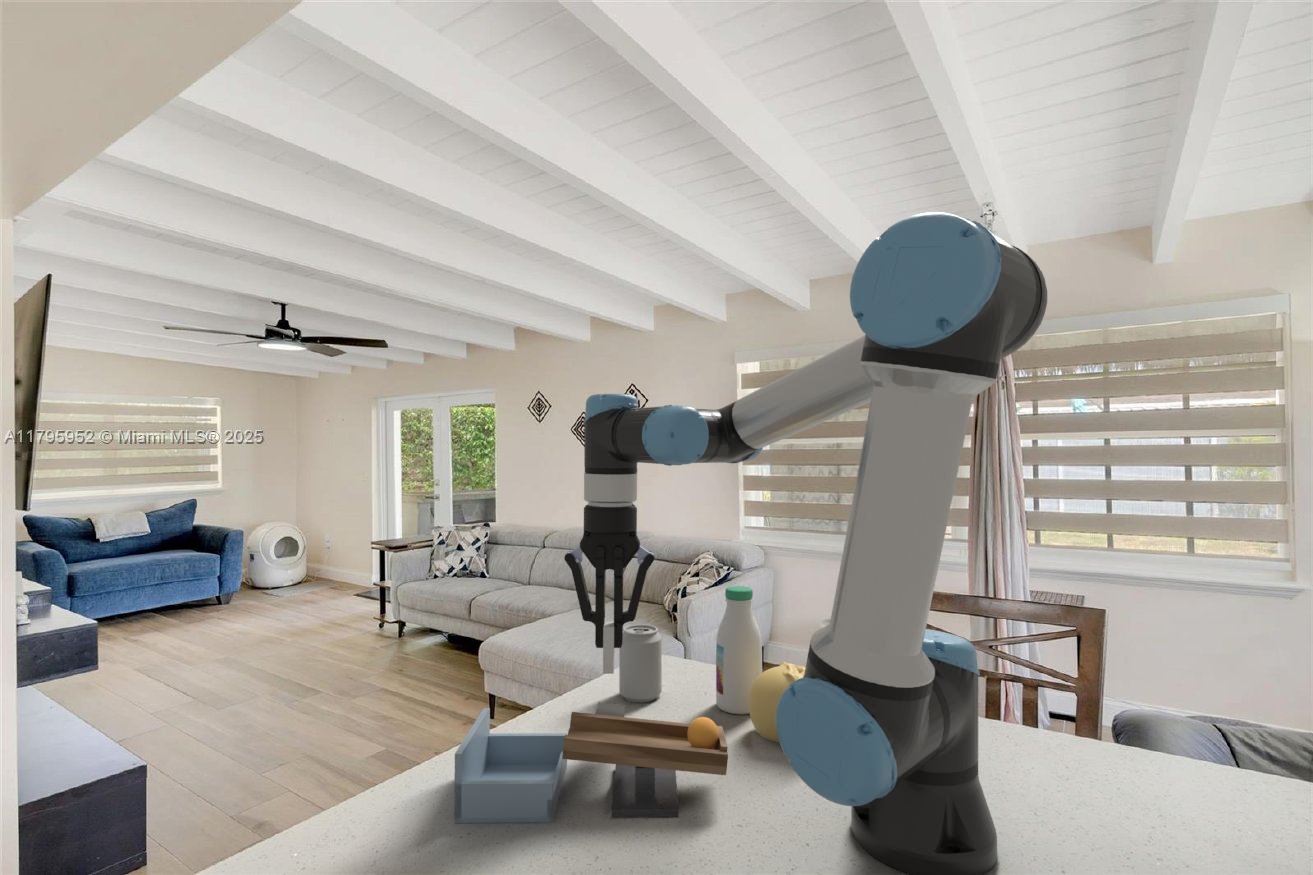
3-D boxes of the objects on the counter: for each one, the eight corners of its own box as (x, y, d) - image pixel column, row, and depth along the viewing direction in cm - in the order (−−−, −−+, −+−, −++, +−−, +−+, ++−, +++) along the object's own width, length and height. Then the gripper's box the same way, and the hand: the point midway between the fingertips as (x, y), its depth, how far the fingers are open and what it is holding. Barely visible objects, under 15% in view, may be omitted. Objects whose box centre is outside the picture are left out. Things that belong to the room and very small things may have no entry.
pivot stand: (616, 768, 90) (616, 736, 90) (674, 768, 90) (674, 736, 90) (611, 818, 78) (611, 780, 78) (678, 817, 78) (678, 780, 78)
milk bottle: (769, 703, 113) (769, 586, 113) (750, 719, 106) (750, 595, 106) (728, 694, 117) (728, 581, 117) (708, 709, 110) (708, 589, 111)
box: (483, 766, 90) (484, 707, 91) (566, 766, 91) (567, 707, 91) (454, 823, 77) (454, 753, 77) (552, 822, 77) (552, 753, 77)
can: (663, 689, 120) (663, 622, 120) (659, 705, 112) (659, 634, 112) (622, 687, 120) (622, 621, 121) (616, 703, 113) (616, 633, 113)
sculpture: (838, 754, 94) (837, 678, 94) (753, 753, 94) (753, 677, 95) (820, 721, 106) (819, 653, 106) (744, 720, 106) (744, 653, 106)
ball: (722, 751, 84) (726, 720, 84) (704, 760, 81) (709, 728, 81) (697, 739, 87) (701, 709, 87) (679, 747, 84) (683, 716, 84)
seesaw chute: (576, 706, 96) (578, 686, 96) (713, 720, 96) (715, 700, 96) (562, 758, 80) (564, 734, 80) (726, 775, 80) (728, 750, 80)
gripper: (656, 501, 97) (654, 661, 97) (567, 500, 97) (566, 661, 97) (656, 506, 90) (655, 680, 90) (560, 505, 90) (559, 679, 89)
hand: (608, 670), depth 93 cm, fingers closed
